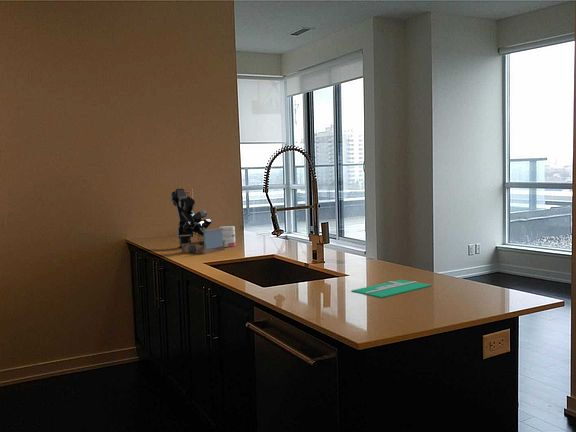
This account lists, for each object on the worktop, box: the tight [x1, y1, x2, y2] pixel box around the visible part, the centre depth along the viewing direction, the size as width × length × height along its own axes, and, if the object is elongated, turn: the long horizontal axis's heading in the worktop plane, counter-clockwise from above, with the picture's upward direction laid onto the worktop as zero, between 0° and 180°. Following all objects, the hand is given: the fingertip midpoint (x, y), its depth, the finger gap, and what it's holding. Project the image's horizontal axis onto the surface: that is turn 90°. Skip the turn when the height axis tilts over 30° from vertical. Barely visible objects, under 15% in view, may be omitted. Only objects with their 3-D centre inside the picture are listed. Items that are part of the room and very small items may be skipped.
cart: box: [180, 240, 225, 255], centre depth 333 cm, size 18×19×4 cm
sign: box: [350, 279, 433, 299], centre depth 217 cm, size 27×1×15 cm
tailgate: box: [203, 228, 223, 250], centre depth 328 cm, size 1×14×10 cm, turn 144°
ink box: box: [218, 225, 236, 248], centre depth 349 cm, size 9×5×12 cm, turn 84°
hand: (205, 236), depth 331 cm, fingers closed
